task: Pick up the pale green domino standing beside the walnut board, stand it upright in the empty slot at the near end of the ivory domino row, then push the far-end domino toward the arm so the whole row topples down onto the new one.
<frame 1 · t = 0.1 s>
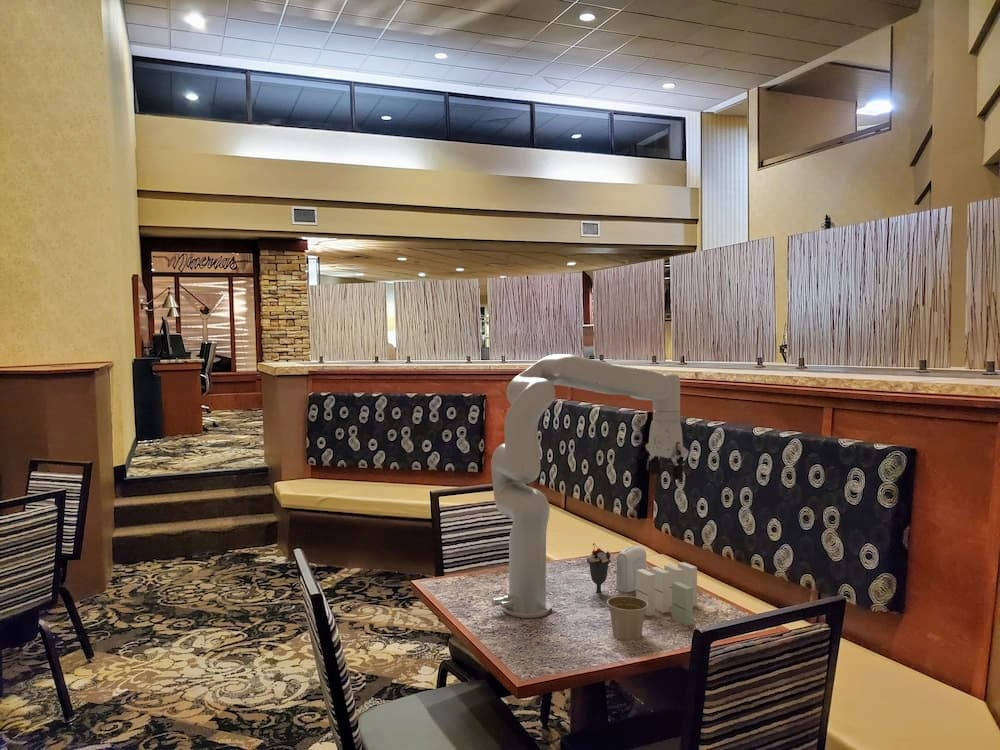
hand: (666, 476, 193), 31 cm above the table, tool pointing down, fingers open, 9 cm apart
flower pot: (627, 640, 156), on the table
domino 3: (659, 608, 172), point 1 cm above the table, touching domino board
domino 4: (645, 611, 170), point 1 cm above the table, touching domino board
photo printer: (631, 591, 189), on the table
pale green domino: (682, 626, 164), on the table
domino 1: (687, 603, 176), point 1 cm above the table, touching domino board
domino board: (658, 613, 172), on the table
sundae: (598, 597, 184), on the table
domino 2: (673, 606, 174), point 1 cm above the table, touching domino board
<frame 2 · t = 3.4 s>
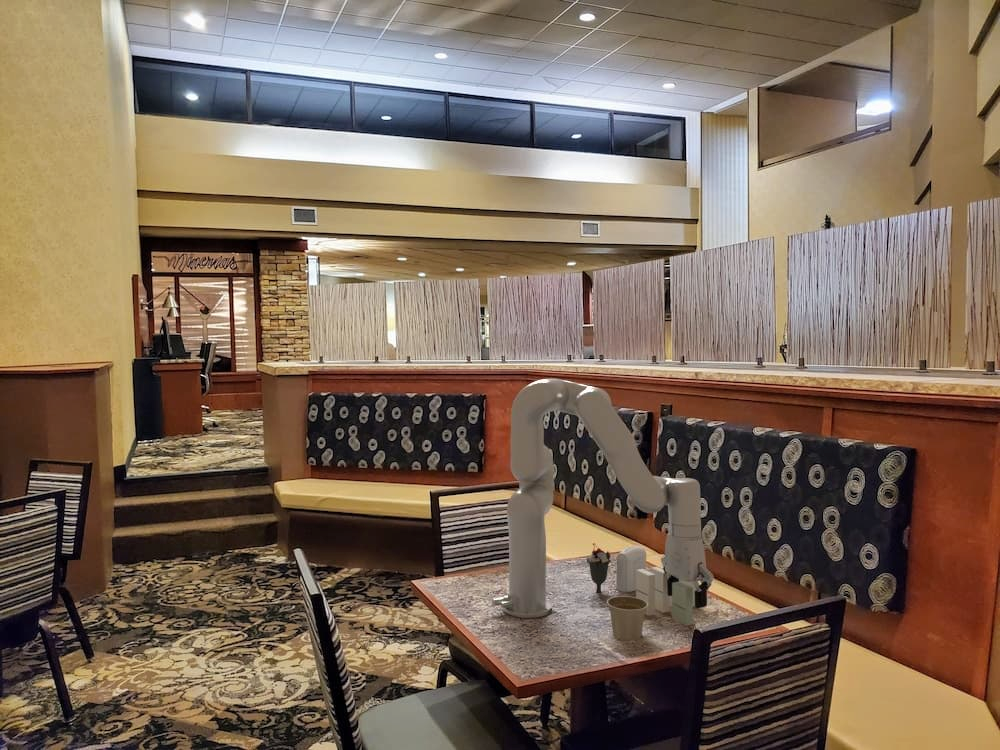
hand: (686, 600, 163), 6 cm above the table, tool pointing down, fingers open, 9 cm apart
domino 3: (659, 608, 172), point 1 cm above the table, touching domino board, gripper
everything else where it was.
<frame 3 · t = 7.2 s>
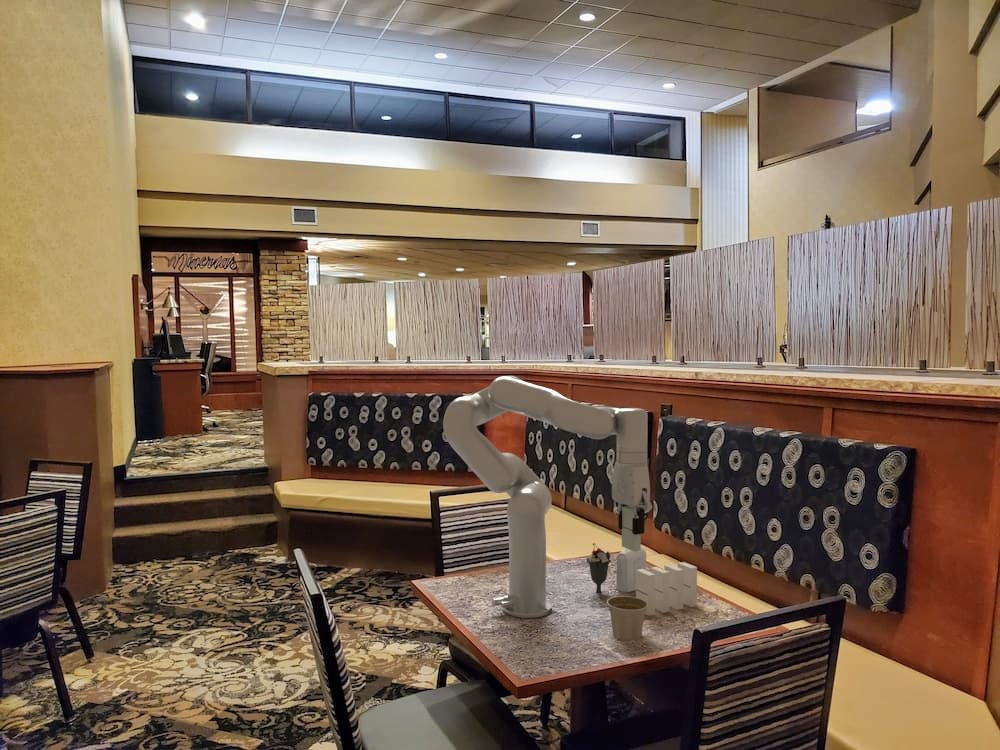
hand: (631, 530, 168), 22 cm above the table, tool pointing down, fingers closed on pale green domino, 4 cm apart
domino 3: (659, 608, 172), point 1 cm above the table, touching domino board
pale green domino: (631, 548, 168), point 18 cm above the table, touching gripper
everything else where it was.
when the fingers open (7 cm above the table, at t = 10.5 s): pale green domino stays where it is, resting on domino board.
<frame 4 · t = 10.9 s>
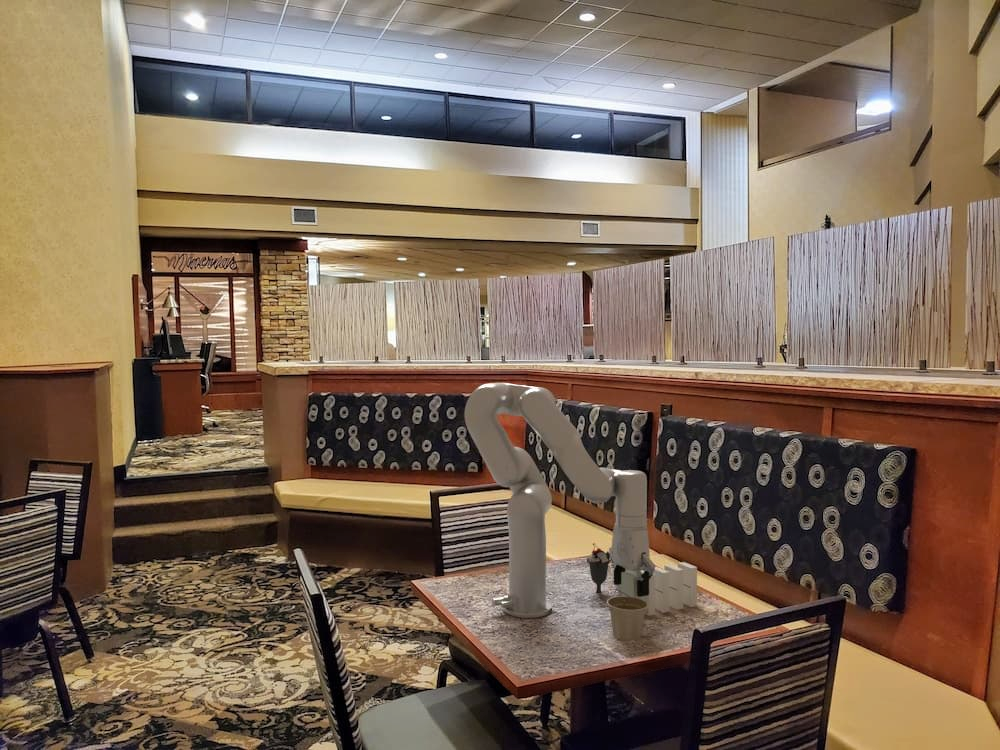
hand: (630, 589, 168), 7 cm above the table, tool pointing down, fingers open, 9 cm apart
pale green domino: (630, 614, 168), point 1 cm above the table, touching domino board
everything else where it was.
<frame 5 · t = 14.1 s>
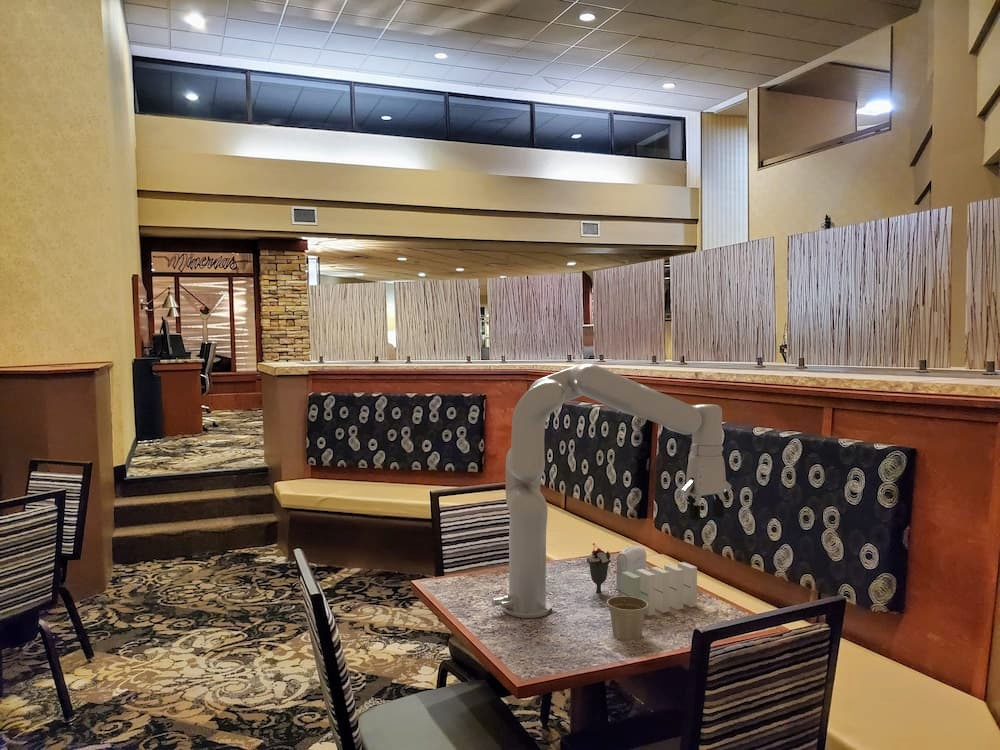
hand: (706, 517, 178), 23 cm above the table, tool pointing down, fingers open, 7 cm apart
nothing on the table moved.
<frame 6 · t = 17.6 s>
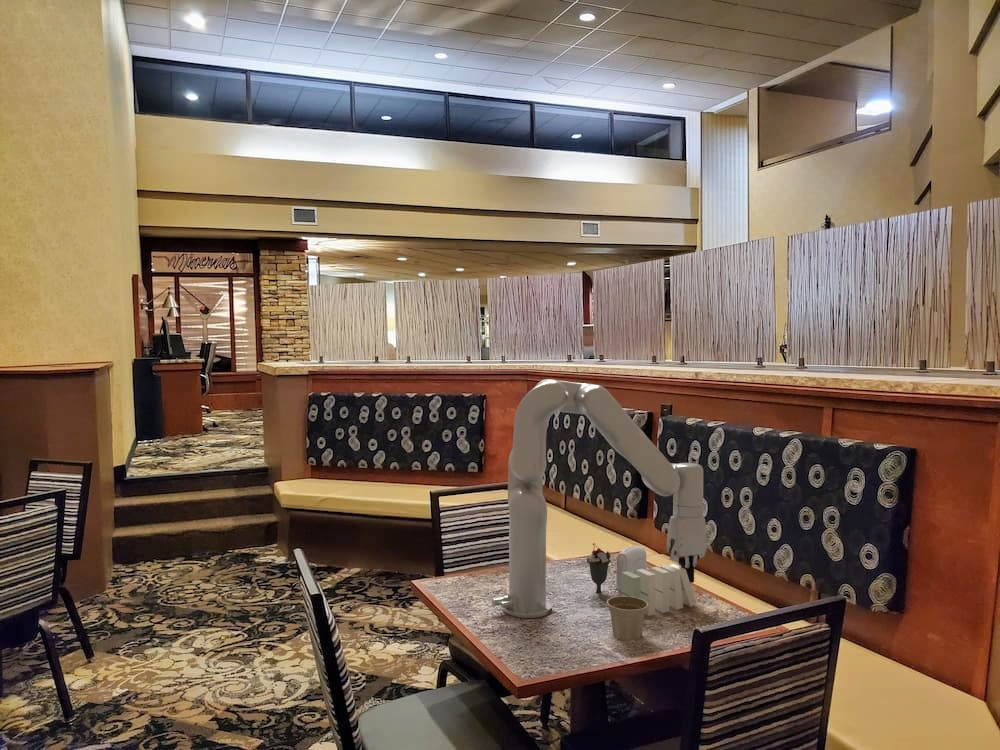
hand: (687, 581, 176), 7 cm above the table, tool pointing down, fingers closed
domino 1: (686, 602, 176), point 2 cm above the table, tilted 21°, touching domino board
domino 2: (673, 605, 174), point 1 cm above the table, tilted 7°, touching domino board
everything else where it was.
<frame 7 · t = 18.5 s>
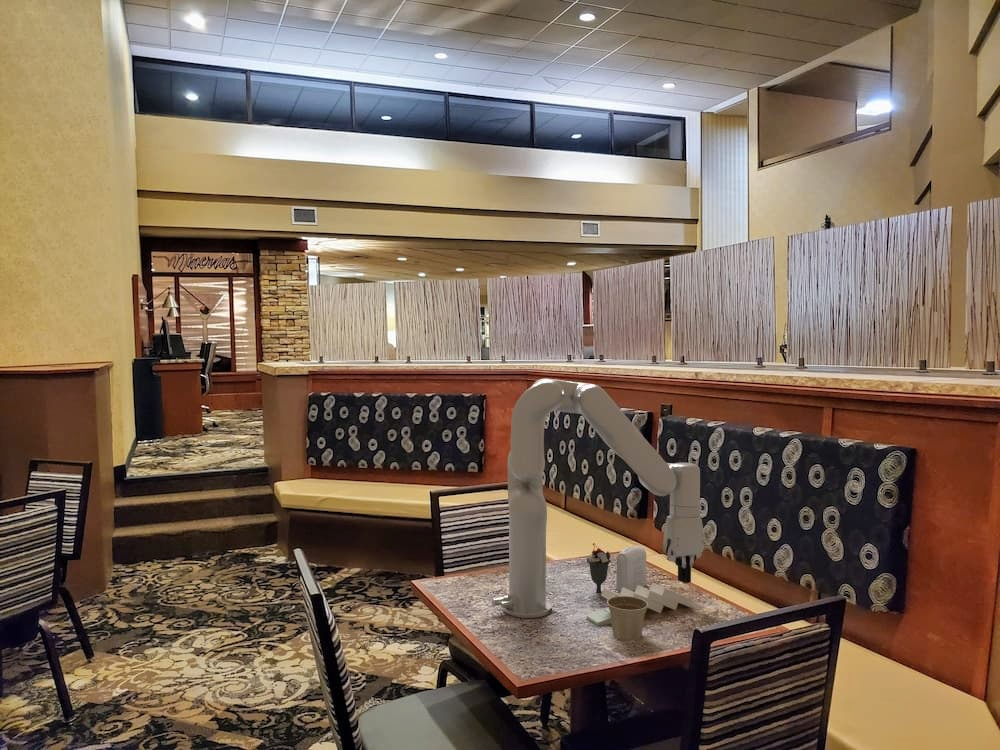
hand: (684, 581, 175), 7 cm above the table, tool pointing down, fingers closed
domino 3: (655, 606, 171), point 2 cm above the table, tilted 63°, touching domino 2, domino 4, domino board
domino 4: (637, 607, 169), point 3 cm above the table, tilted 63°, touching domino 3, pale green domino
pale green domino: (626, 610, 167), point 2 cm above the table, tilted 98°, touching domino 4, domino board
domino 1: (684, 600, 175), point 2 cm above the table, tilted 64°, touching domino 2, domino board
domino 2: (670, 603, 173), point 2 cm above the table, tilted 64°, touching domino 1, domino 3, domino board
everything else where it was.
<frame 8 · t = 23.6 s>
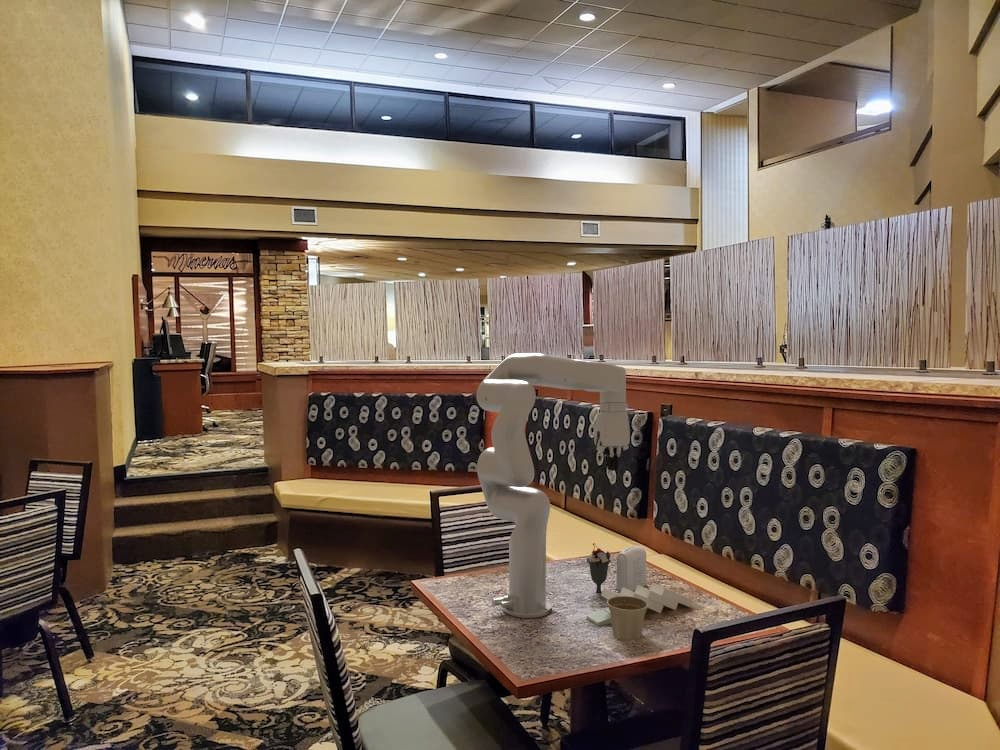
hand: (612, 469, 200), 32 cm above the table, tool pointing down, fingers closed
nothing on the table moved.
at the end: domino 1 tilted 64°; domino 3 tilted 63°; pale green domino tilted 98° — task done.
